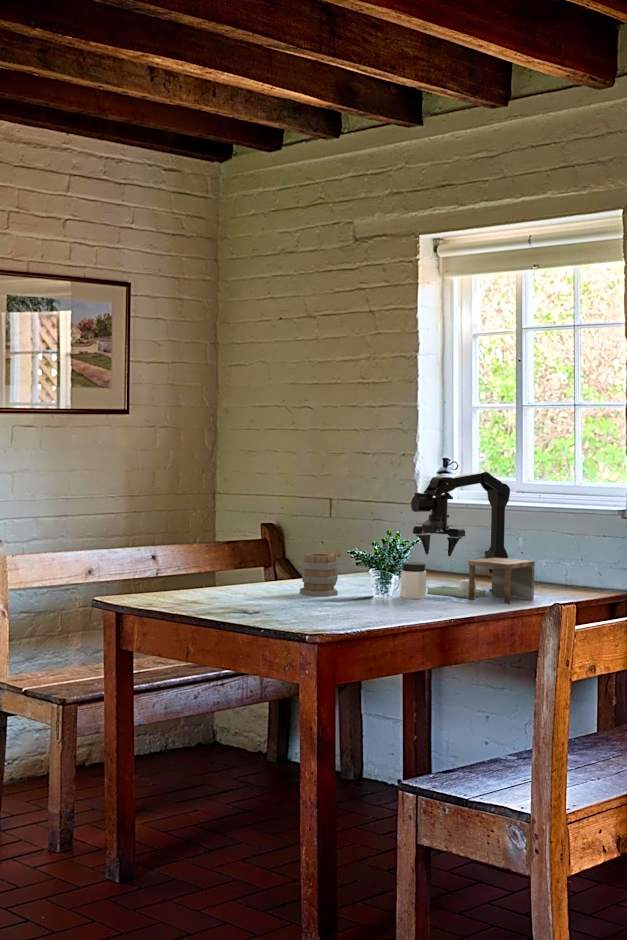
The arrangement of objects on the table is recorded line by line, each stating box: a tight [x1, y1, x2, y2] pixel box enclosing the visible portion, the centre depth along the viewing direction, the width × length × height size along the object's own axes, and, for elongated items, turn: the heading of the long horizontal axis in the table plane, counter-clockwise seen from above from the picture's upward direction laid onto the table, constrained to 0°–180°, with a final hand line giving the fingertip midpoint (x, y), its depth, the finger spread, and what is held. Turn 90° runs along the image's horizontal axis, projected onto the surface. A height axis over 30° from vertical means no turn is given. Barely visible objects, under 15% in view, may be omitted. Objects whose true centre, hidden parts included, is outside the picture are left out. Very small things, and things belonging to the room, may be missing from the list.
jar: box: [399, 561, 427, 600], centre depth 446 cm, size 9×8×12 cm
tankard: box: [299, 549, 343, 598], centre depth 452 cm, size 20×13×15 cm, turn 143°
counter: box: [467, 558, 536, 605], centre depth 446 cm, size 18×16×14 cm
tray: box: [427, 578, 487, 599], centre depth 457 cm, size 10×18×6 cm, turn 52°
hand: (438, 555), depth 457 cm, fingers open, 9 cm apart
